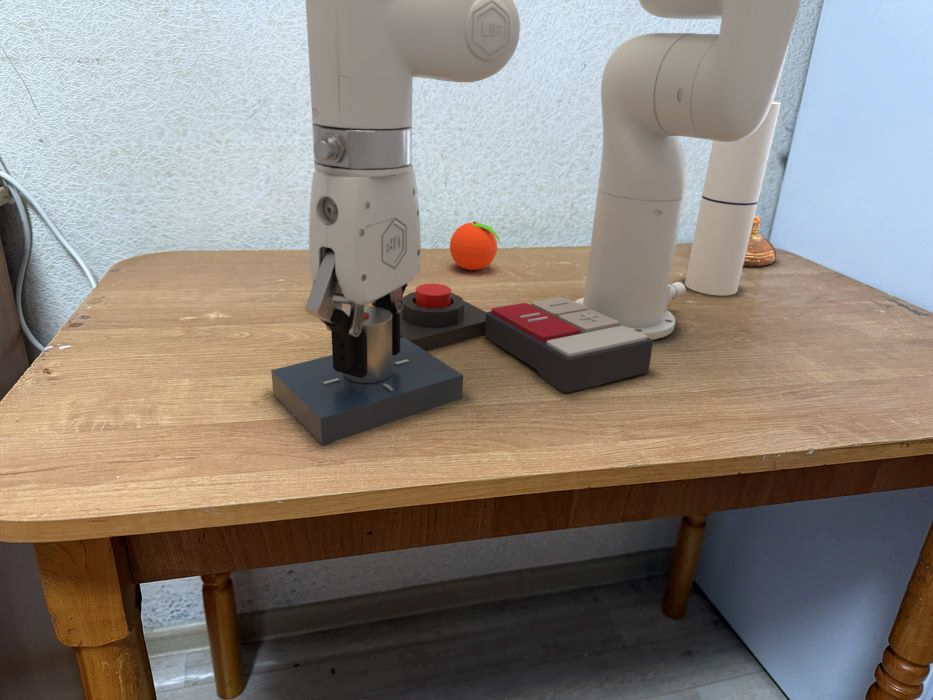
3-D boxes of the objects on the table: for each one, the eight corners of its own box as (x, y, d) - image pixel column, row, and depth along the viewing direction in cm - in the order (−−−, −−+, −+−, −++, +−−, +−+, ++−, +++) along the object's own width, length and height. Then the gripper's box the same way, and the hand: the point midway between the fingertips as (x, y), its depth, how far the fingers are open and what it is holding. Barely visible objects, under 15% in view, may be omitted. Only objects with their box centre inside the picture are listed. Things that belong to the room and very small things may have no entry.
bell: (695, 244, 114) (703, 203, 111) (766, 251, 112) (777, 209, 109) (703, 263, 103) (713, 218, 100) (782, 270, 102) (794, 225, 98)
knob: (361, 357, 61) (360, 299, 58) (401, 368, 59) (401, 309, 56) (332, 375, 57) (329, 314, 55) (374, 388, 55) (373, 325, 53)
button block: (451, 307, 81) (452, 280, 79) (497, 331, 74) (499, 303, 73) (366, 326, 74) (366, 297, 72) (409, 355, 67) (409, 324, 66)
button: (437, 295, 75) (437, 281, 74) (457, 306, 72) (458, 291, 72) (408, 301, 73) (408, 286, 72) (428, 312, 70) (428, 297, 69)
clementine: (510, 270, 96) (514, 222, 93) (486, 281, 90) (489, 231, 87) (465, 259, 99) (467, 213, 96) (439, 270, 94) (441, 221, 91)
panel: (404, 359, 66) (404, 335, 65) (462, 399, 59) (463, 373, 58) (273, 394, 59) (270, 368, 57) (322, 445, 51) (320, 416, 50)
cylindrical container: (682, 290, 91) (720, 100, 80) (686, 276, 97) (722, 98, 86) (736, 298, 88) (782, 104, 78) (737, 283, 94) (779, 101, 84)
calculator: (563, 292, 76) (656, 333, 64) (561, 327, 78) (650, 372, 66) (484, 305, 71) (568, 352, 59) (483, 341, 73) (564, 394, 61)
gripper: (336, 169, 41) (345, 414, 49) (456, 144, 55) (448, 338, 63) (247, 156, 44) (269, 390, 52) (382, 136, 58) (384, 322, 66)
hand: (367, 360), depth 57 cm, fingers closed on knob, 4 cm apart
